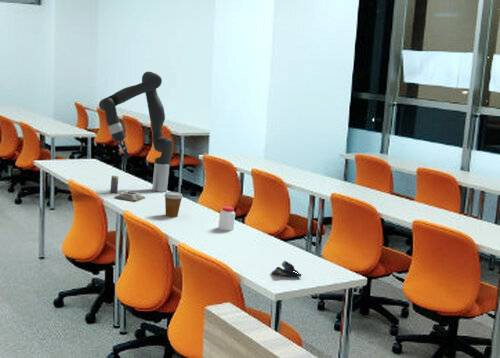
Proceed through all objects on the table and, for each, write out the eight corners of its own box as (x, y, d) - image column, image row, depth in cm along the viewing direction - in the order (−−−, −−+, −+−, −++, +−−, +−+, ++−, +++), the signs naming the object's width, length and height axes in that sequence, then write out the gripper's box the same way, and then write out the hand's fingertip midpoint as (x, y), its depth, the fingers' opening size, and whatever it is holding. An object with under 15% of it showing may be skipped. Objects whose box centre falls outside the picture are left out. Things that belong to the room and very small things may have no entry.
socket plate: (123, 194, 379) (124, 189, 379) (144, 198, 377) (145, 193, 376) (114, 198, 367) (114, 193, 366) (135, 201, 364) (136, 196, 364)
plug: (112, 191, 384) (113, 175, 383) (118, 192, 383) (119, 176, 382) (109, 192, 380) (110, 176, 379) (115, 193, 379) (116, 177, 378)
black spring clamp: (274, 269, 268) (268, 276, 257) (278, 255, 267) (272, 261, 256) (301, 279, 266) (296, 286, 254) (306, 265, 265) (301, 271, 253)
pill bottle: (222, 230, 321) (224, 209, 320) (215, 226, 328) (218, 205, 326) (236, 230, 325) (238, 209, 323) (229, 226, 332) (231, 205, 330)
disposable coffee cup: (159, 215, 338) (161, 192, 336) (168, 212, 347) (170, 190, 345) (175, 218, 335) (177, 196, 333) (183, 215, 344) (186, 193, 342)
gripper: (124, 129, 364) (134, 156, 367) (122, 129, 378) (132, 155, 381) (111, 133, 363) (122, 160, 365) (110, 133, 376) (120, 160, 379)
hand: (127, 158), depth 373 cm, fingers open, 8 cm apart
